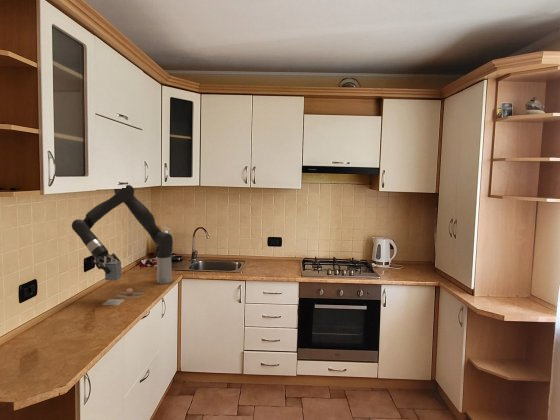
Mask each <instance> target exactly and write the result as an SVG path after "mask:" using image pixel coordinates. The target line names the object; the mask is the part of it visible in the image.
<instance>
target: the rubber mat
mask: <svg viewBox="0 0 560 420" xmlns="http://www.w3.org/2000/svg"><path fill="white" fill-rule="evenodd" d="M125 300H126V299H113V298H111V299H107V300H106V301H105V302H103V303H102V306H119V305H121V304H122V303H123V302H124V301H125Z"/></svg>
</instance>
